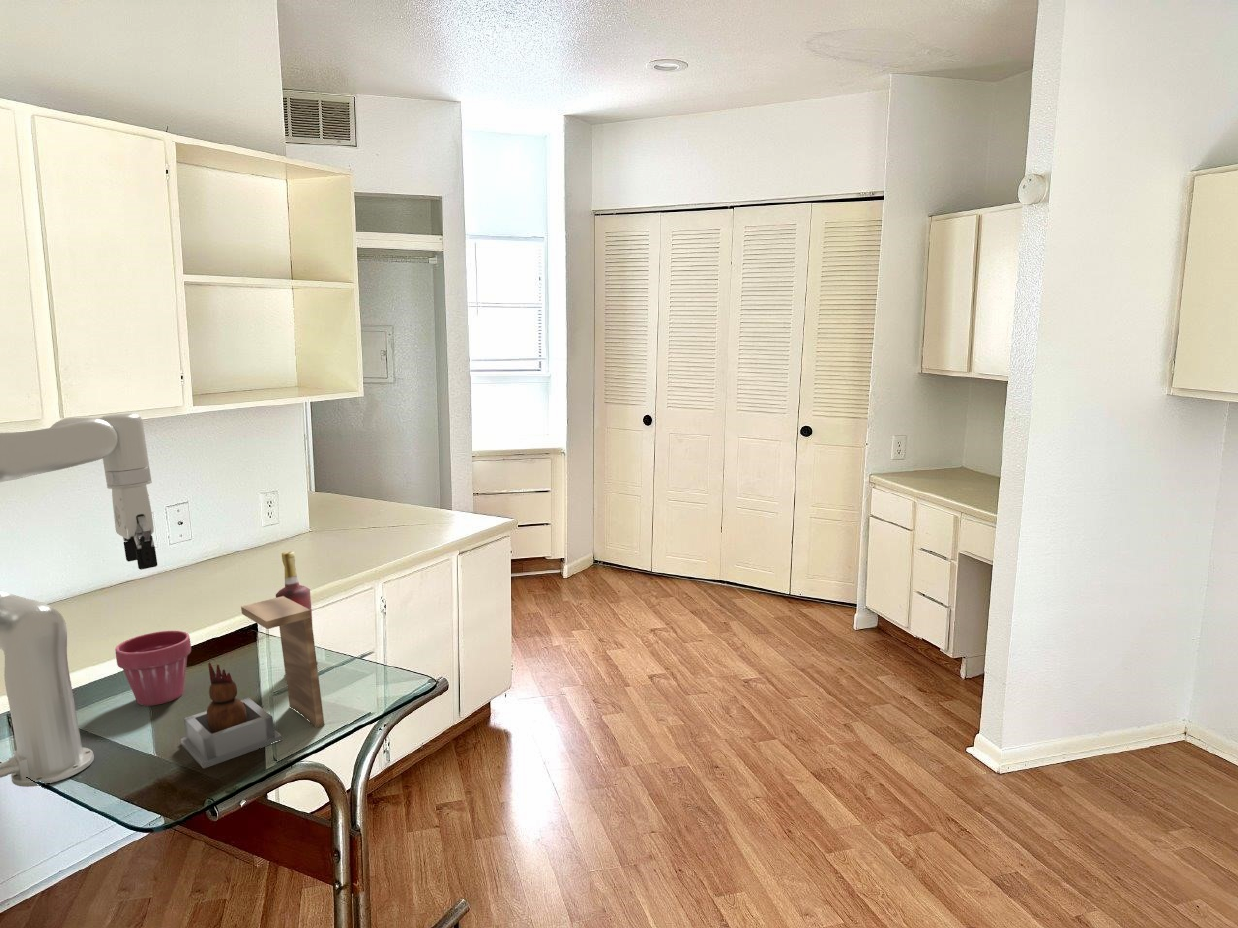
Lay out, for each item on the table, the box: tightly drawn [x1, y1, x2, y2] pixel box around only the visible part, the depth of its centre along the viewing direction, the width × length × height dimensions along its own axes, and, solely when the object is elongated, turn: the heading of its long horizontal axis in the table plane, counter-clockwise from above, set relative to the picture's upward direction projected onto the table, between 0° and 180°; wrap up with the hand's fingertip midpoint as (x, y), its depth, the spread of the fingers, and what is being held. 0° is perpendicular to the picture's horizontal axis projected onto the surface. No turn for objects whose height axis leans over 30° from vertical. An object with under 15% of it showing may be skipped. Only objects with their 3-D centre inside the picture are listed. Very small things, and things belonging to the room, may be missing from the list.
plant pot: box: [114, 630, 192, 707], centre depth 185 cm, size 14×14×13 cm
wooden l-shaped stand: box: [240, 596, 325, 729], centre depth 167 cm, size 8×14×24 cm, turn 42°
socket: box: [180, 697, 283, 769], centre depth 161 cm, size 14×14×5 cm
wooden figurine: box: [206, 662, 247, 734], centre depth 160 cm, size 7×6×15 cm
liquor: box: [275, 551, 319, 666], centre depth 193 cm, size 7×7×28 cm
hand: (141, 563), depth 167 cm, fingers open, 9 cm apart
